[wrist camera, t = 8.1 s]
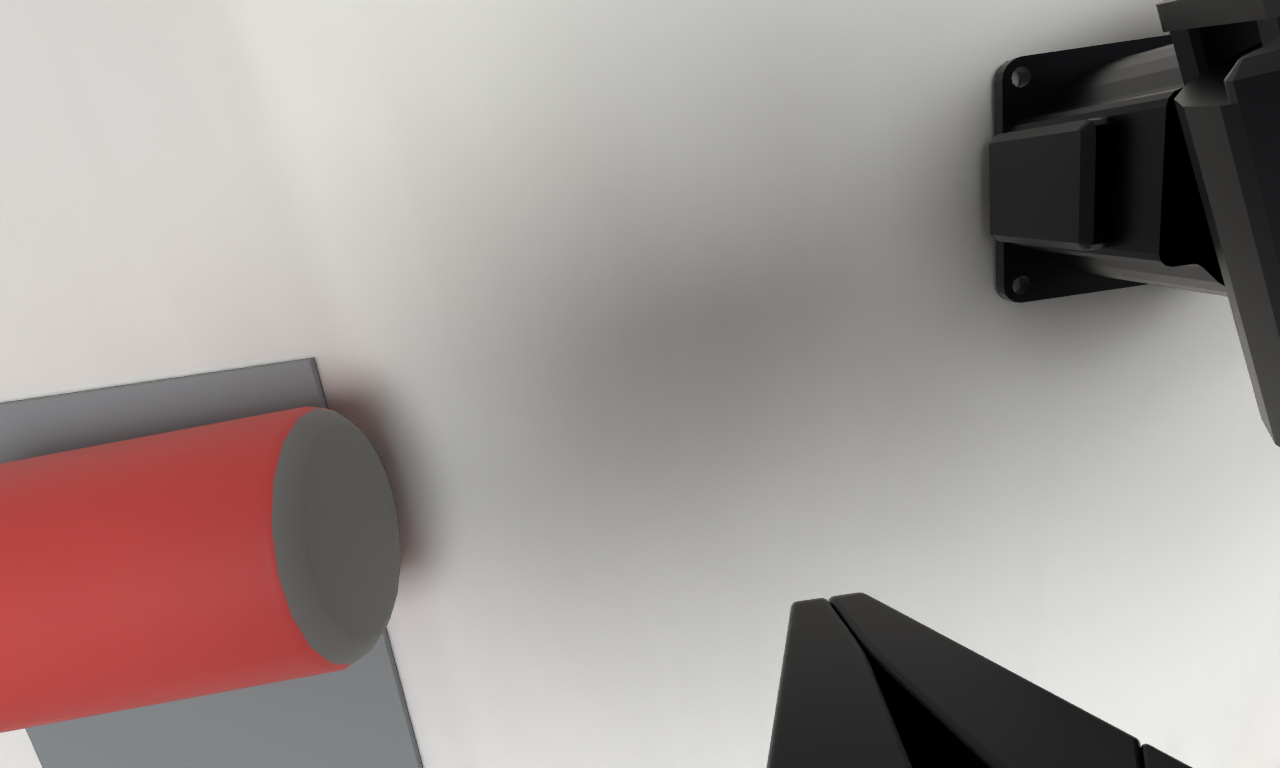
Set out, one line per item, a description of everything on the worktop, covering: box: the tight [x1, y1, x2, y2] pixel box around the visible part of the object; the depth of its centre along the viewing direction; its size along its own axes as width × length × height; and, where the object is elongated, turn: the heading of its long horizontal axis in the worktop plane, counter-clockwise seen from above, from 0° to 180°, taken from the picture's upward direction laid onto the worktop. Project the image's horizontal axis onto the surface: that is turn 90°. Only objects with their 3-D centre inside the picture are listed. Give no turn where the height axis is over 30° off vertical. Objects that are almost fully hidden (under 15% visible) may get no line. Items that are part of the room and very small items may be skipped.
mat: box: [0, 358, 423, 768], centre depth 22 cm, size 12×16×1 cm
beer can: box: [0, 406, 400, 733], centre depth 18 cm, size 7×7×12 cm
